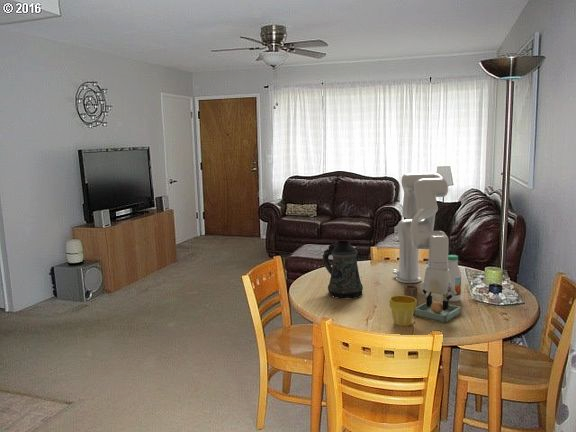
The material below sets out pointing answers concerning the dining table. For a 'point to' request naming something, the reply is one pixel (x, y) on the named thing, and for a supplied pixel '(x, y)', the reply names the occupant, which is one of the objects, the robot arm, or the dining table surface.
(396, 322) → the plant pot
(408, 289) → the wooden box
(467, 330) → the dining table surface
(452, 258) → the milk bottle
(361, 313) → the dining table surface
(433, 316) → the tray
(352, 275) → the beer stein
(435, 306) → the ball
